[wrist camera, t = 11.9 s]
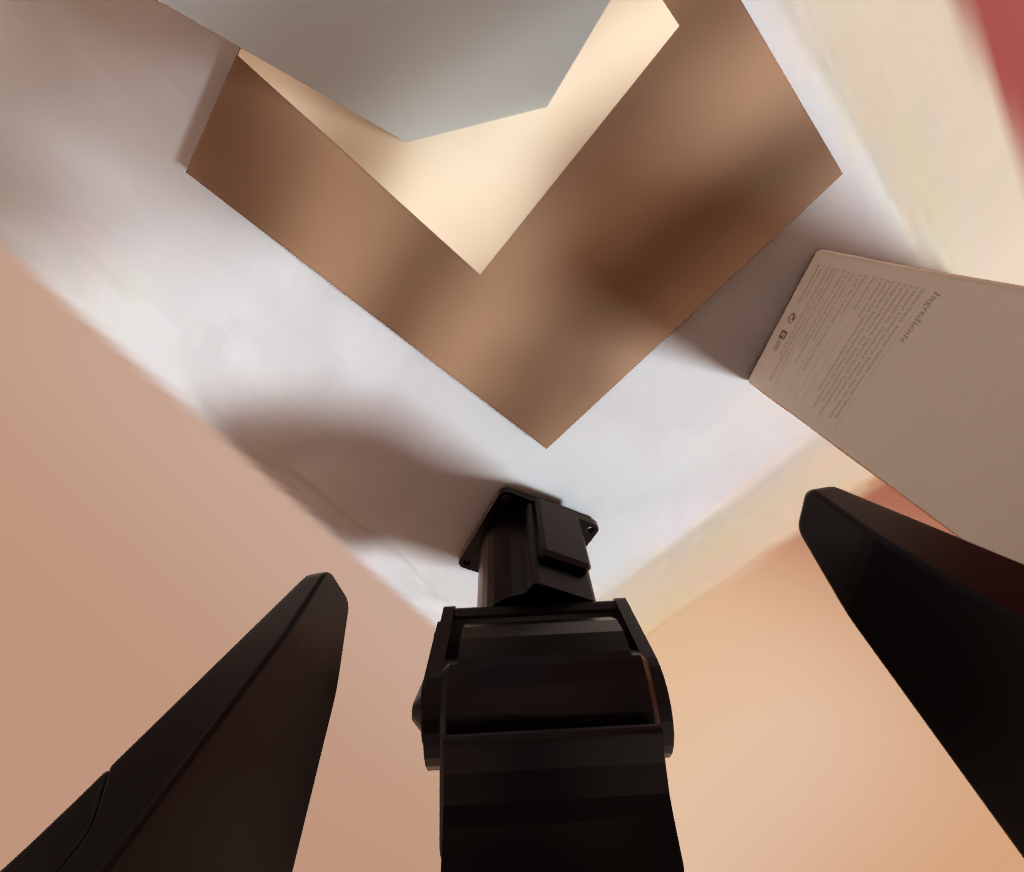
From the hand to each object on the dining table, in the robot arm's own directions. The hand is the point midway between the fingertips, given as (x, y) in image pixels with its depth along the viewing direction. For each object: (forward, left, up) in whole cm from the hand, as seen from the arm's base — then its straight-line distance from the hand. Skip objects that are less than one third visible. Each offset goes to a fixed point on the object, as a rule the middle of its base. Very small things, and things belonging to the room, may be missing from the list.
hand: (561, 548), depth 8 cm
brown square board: (+6, +4, -13) cm, 15 cm away
